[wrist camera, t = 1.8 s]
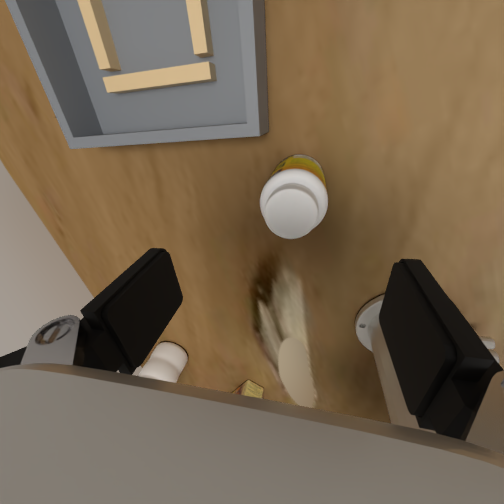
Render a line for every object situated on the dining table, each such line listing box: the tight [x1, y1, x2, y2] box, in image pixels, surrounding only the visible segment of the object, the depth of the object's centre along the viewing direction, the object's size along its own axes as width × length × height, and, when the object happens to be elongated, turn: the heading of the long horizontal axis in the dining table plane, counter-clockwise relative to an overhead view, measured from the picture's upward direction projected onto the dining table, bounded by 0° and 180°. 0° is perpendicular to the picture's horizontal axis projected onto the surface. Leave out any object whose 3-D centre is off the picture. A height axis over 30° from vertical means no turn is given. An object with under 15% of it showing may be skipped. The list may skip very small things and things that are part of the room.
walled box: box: [5, 0, 269, 149], centre depth 19 cm, size 20×20×5 cm
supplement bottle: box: [260, 155, 328, 239], centre depth 21 cm, size 6×6×10 cm
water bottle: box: [139, 342, 188, 383], centre depth 38 cm, size 7×7×25 cm
